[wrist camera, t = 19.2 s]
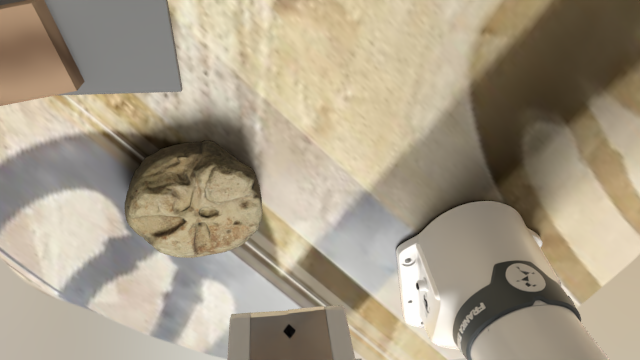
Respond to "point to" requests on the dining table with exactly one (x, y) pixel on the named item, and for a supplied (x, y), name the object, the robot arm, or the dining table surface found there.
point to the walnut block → (33, 54)
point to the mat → (118, 44)
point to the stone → (194, 200)
